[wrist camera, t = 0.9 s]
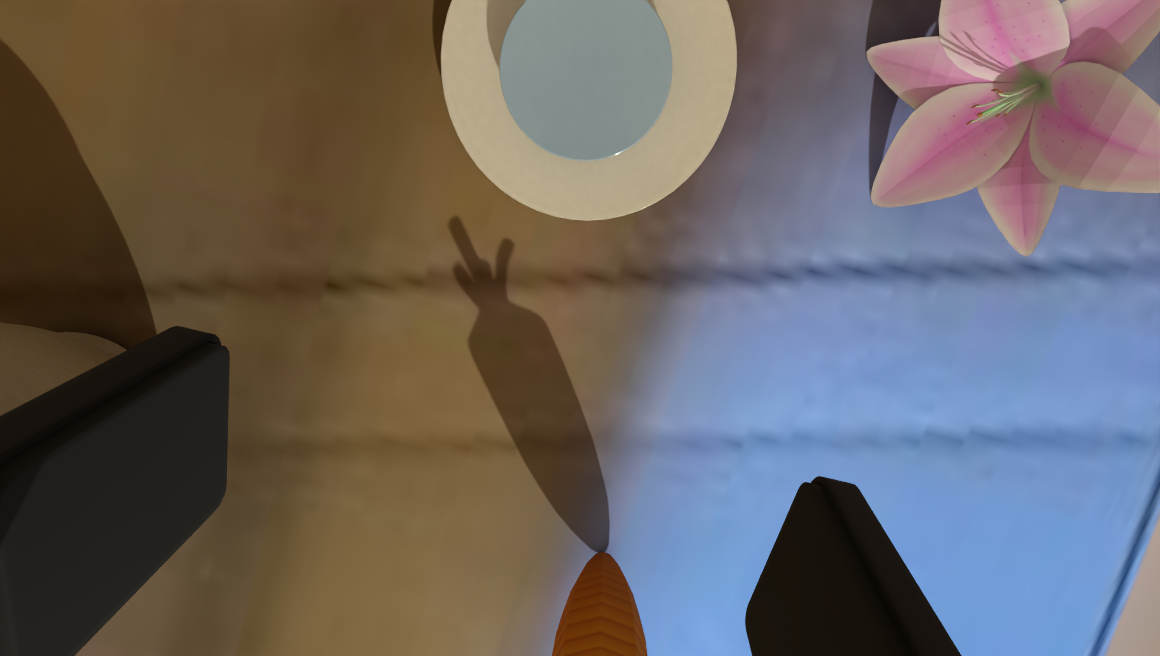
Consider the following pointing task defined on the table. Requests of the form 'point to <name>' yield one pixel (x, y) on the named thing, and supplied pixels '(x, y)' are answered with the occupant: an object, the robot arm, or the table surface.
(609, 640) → the carrot
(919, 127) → the lily
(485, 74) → the dessert plate
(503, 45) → the blue-grey cylinder
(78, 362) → the planter bowl
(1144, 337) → the table surface
